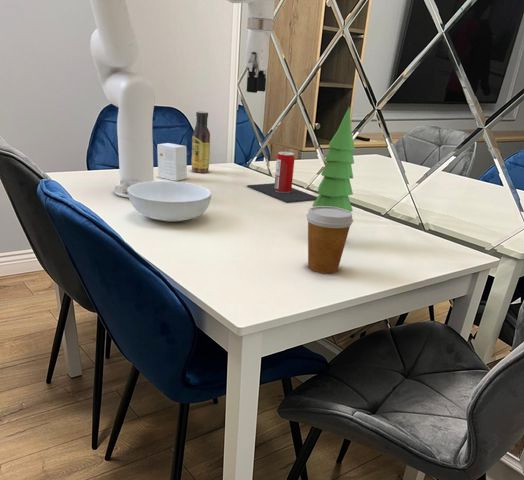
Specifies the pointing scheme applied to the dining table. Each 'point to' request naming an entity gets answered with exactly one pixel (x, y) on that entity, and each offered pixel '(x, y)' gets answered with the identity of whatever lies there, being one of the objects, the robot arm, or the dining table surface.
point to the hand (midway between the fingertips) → (256, 91)
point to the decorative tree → (338, 169)
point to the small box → (172, 161)
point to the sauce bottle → (201, 144)
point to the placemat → (286, 197)
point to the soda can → (284, 172)
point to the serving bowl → (169, 200)
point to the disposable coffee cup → (327, 237)
